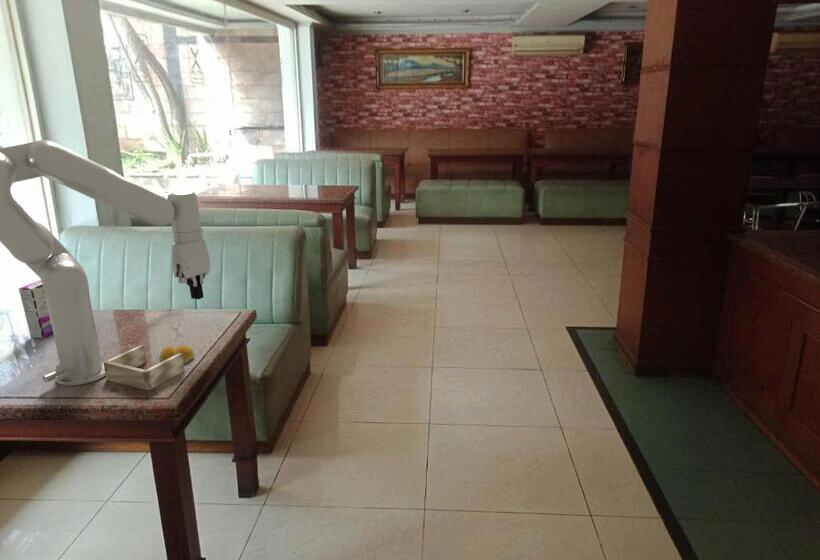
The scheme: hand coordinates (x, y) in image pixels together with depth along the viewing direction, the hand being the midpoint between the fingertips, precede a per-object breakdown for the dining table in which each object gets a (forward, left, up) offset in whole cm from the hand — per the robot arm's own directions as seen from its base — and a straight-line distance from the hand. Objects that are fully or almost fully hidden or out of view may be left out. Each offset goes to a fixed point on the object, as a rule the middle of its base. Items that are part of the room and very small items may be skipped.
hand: (197, 297), depth 166 cm
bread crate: (-20, 0, -15) cm, 25 cm away
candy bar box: (-10, +54, -15) cm, 57 cm away
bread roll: (-10, 0, -15) cm, 18 cm away
